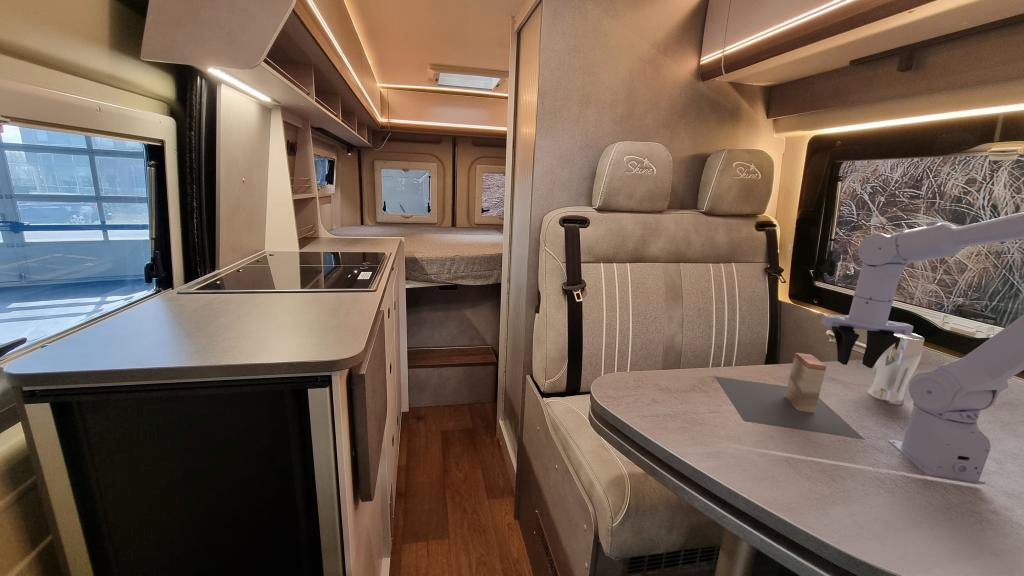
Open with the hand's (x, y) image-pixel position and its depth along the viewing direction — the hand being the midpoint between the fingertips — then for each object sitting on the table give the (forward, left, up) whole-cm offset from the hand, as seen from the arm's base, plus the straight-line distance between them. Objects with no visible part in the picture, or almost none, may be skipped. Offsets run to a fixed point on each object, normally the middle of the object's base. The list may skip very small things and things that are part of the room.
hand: (854, 364), depth 83 cm
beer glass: (+11, -14, -11) cm, 21 cm away
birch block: (0, +8, -10) cm, 13 cm away
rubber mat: (-1, +12, -10) cm, 16 cm away
